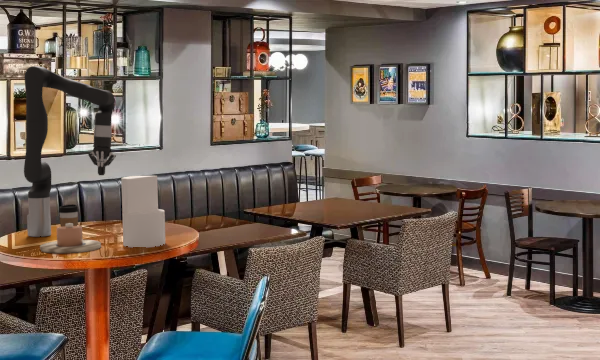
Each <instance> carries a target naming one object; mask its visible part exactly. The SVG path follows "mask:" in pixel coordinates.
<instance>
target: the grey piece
mask: <svg viewBox="0 0 600 360" xmlns="http://www.w3.org/2000/svg"><path fill="white" fill-rule="evenodd" d="M120 179H121V180H120V181H121V205H122V208H121V211H122V214H121V215H122V241H123V243H122V244H123V247H126V246H128V247H127V248H133V247H146V248H155V246H156V247H161V246H164V245H165V244H166V217H165V216H166V214H165V213H166V211H165V210H164V209H161V208H159V192H158V190H159V188H158V175H130V176H123V177H121V178H120ZM163 244H164V245H163ZM160 245H161V246H160Z"/></svg>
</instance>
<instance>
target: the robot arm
mask: <svg viewBox="0 0 600 360" xmlns="http://www.w3.org/2000/svg"><path fill="white" fill-rule="evenodd" d="M24 85H25V88H24V89H25V99H26V100H25V101H26V102H25V105H26V106H25V109H26V110H25V113H26V114H25V115H26V116H25V154H24V155H25V156H24V165H23V174H24V178H25V180H26V181H27V182H28V183H32V185H31V188H30V189H29V190H28V193H27V198H28V200H27V201H28V202H27V203H28V214H27V215H26V224H27V225H26V226H27V236H28V237H34V238H35V237H36V238H39V237H40V236H41V237H42V238H43V237H48V236H51V235H52V224H51V223H52V222H51V221H52V220H51V199H50V198H51V196H50V195H51V191H52V170H51V169H52V168H51V167H50V164H49V163H47V162H46V161H43V160H42V152H43V151H42V150H43V147H44V144H45V142H46V139H47V137H48V129H49V127H48V126H49V122H48V121H49V120H48V119H49V118H48V114H47V110H46V107H45V104H44V100H43V99H44V98H43V91H44V90H43V88H49V89H54V90H57V91H60V92H62V93H65V94H67V95H68V96H71V97H74V98H77V99H79V100H82V101H86V102H88V103H91V104H93V105H95V106H98V109H97V112H95V114H94V129H93V149H92V151H91V152H89V153H88V154H87V155H88V157H89V159H90V160H91V162H92V163H93V165H94V166H97V174H98V176H105V175H106V167H108V166H110V165H111V164H112V162H113V161H114V160H115V159H116V156H117V155H116V154H114V153H113V152H112V149H111V148H112V135H113V134H112V130H113V129H112V115H113V111H114V107H115V97H114V94H113V92H111V91H110V90H106V89H105V90H104V89H100V88H98V87H93V86H92V85H90V84H87V83H83V82H81V81H77V80H74V79H70V78H67V77H64V76H61V75H60V74H57V73H55V72H53V71H51V70H49V69H48V68H46V67H44V66H37V65H34V66H32V65H31V66H29V67H27V69H26V70H25V72H24Z"/></svg>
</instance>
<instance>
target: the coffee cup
mask: <svg viewBox="0 0 600 360" xmlns="http://www.w3.org/2000/svg"><path fill="white" fill-rule="evenodd" d="M58 213H59V224H60V227H63V226H65V224H67V223H73V226H79V224H78V221H79V220H78V219H79V216H78V215H79V214H78V213H79V208H78V204H65V205H61V206H59V208H58Z"/></svg>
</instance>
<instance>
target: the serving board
mask: <svg viewBox="0 0 600 360" xmlns="http://www.w3.org/2000/svg"><path fill="white" fill-rule="evenodd" d="M101 247H102V242H101V241H98V240H94V239H83V244H82V245H80V246H73V247H60V246H57V240H55V241H50V242H46V243H42V244H41V245H39V250H41V251H40V252H42V253H47V254H76V253H78V254H79V253H85V252H90V251H95V250H98V249H101Z"/></svg>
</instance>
